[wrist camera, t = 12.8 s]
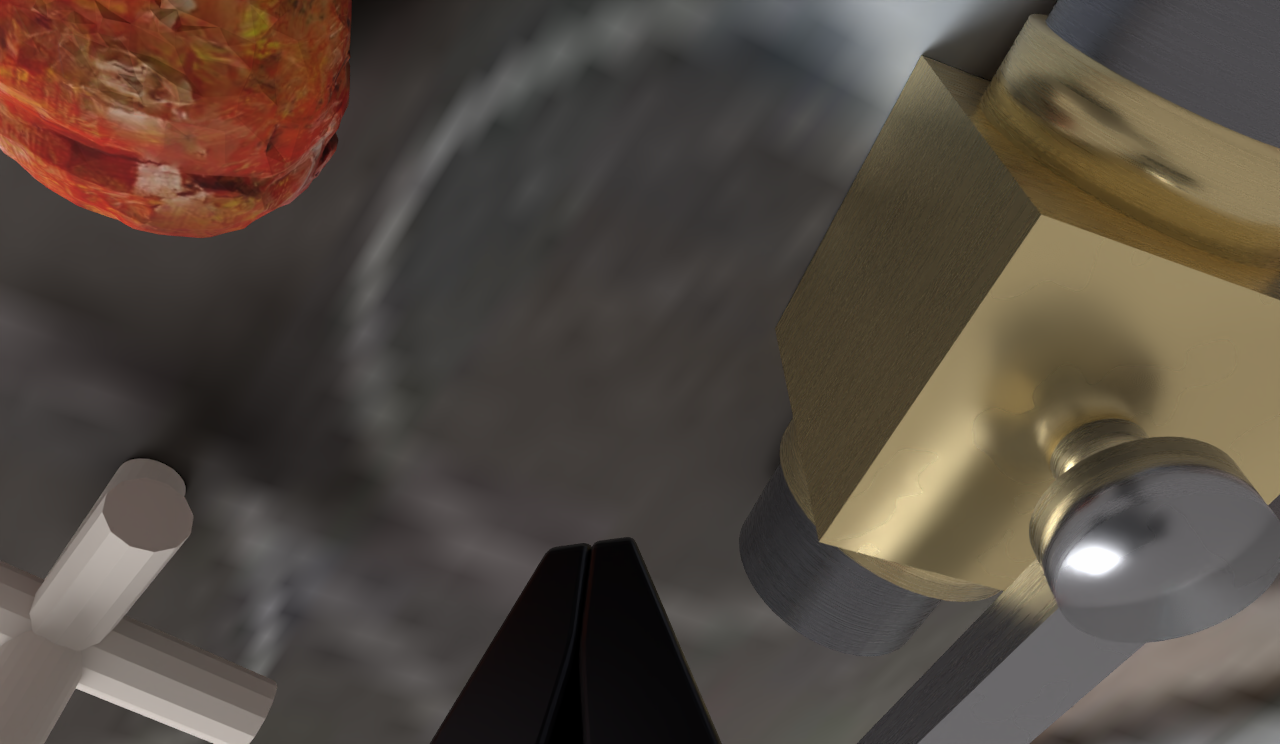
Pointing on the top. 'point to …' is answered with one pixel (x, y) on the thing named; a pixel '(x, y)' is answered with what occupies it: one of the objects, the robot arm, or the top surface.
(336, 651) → the top surface
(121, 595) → the pipe connector
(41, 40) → the pomegranate
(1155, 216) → the valve
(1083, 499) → the lever
